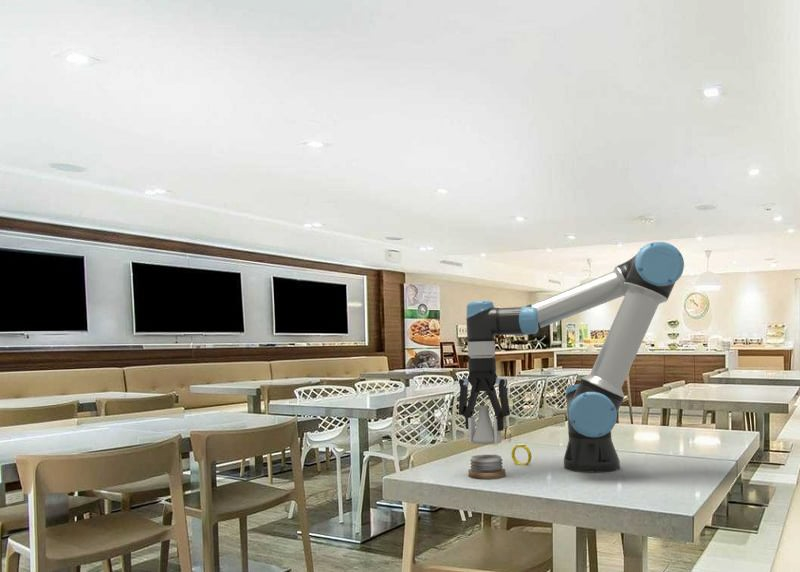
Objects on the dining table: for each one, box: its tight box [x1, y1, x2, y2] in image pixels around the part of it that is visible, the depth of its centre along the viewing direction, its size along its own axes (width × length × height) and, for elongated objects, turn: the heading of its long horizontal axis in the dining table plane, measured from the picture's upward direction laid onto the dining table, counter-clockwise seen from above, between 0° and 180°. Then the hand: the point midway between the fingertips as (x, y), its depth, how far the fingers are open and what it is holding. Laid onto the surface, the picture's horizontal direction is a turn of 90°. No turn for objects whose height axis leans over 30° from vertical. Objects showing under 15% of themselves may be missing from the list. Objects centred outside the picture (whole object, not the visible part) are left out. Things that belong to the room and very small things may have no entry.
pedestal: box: [467, 454, 507, 480], centre depth 175 cm, size 10×10×5 cm
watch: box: [511, 443, 532, 466], centre depth 191 cm, size 6×3×6 cm, turn 50°
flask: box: [471, 404, 495, 445], centre depth 176 cm, size 7×7×10 cm
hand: (485, 442), depth 176 cm, fingers closed on flask, 7 cm apart
